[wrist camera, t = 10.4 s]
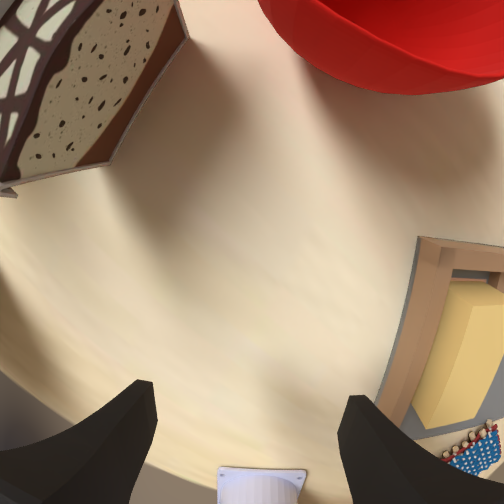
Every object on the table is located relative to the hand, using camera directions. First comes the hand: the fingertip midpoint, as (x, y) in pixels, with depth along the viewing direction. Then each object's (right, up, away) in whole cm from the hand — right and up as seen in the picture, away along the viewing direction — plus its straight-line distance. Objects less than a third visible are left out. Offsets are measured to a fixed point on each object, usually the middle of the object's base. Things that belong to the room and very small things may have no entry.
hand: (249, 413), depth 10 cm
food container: (-9, +17, +6) cm, 20 cm away
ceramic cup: (+8, +21, +5) cm, 23 cm away
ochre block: (+14, 0, +9) cm, 17 cm away
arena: (+19, -3, +10) cm, 21 cm away
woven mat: (+24, -18, +13) cm, 32 cm away
